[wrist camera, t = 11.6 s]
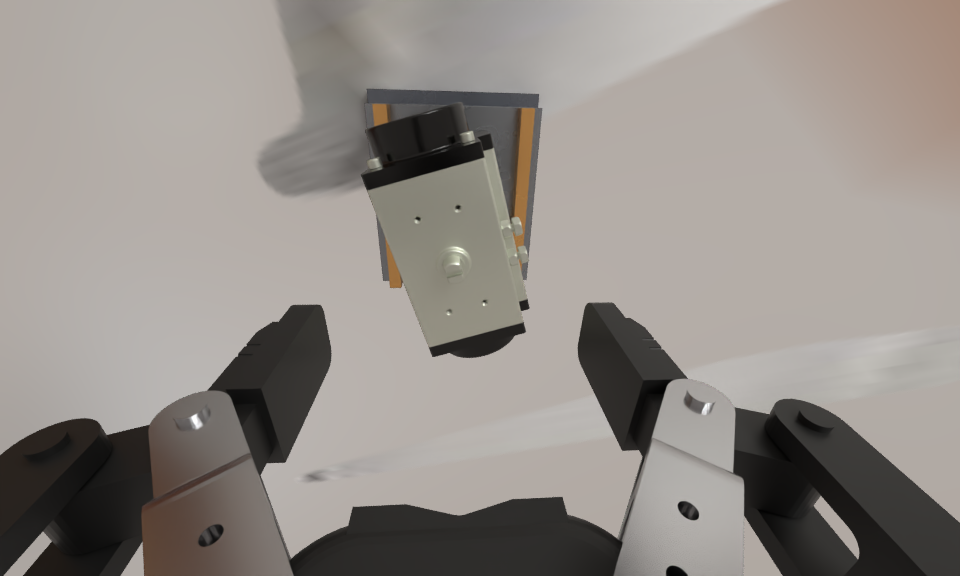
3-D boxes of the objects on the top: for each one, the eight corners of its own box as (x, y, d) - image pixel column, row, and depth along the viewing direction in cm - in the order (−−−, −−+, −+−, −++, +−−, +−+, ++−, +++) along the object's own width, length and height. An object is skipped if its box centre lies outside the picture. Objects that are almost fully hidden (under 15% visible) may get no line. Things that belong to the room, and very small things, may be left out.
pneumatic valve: (441, 285, 28) (441, 395, 17) (386, 123, 23) (336, 136, 12) (511, 266, 28) (554, 365, 17) (472, 99, 22) (498, 90, 12)
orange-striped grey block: (369, 89, 30) (330, 82, 21) (536, 94, 31) (573, 90, 22) (386, 261, 37) (363, 316, 27) (522, 260, 38) (545, 313, 28)
